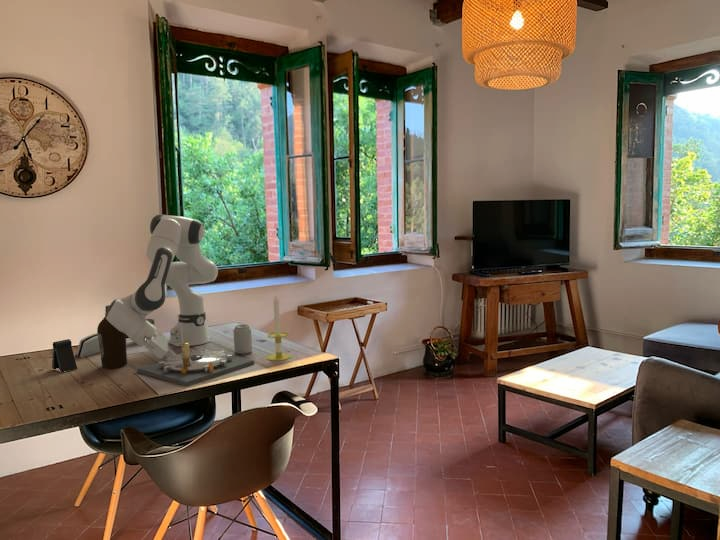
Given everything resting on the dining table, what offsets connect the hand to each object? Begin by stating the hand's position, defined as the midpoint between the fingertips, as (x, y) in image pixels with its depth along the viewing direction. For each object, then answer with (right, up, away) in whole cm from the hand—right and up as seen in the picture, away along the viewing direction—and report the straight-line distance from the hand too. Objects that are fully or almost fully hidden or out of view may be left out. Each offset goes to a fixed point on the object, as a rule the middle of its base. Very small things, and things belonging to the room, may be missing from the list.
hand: (175, 357), depth 206 cm
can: (+18, -4, +34) cm, 39 cm away
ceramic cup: (-37, -2, +61) cm, 71 cm away
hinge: (-50, -5, +43) cm, 66 cm away
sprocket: (+4, -5, +12) cm, 14 cm away
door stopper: (-50, -8, +16) cm, 54 cm away
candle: (+36, -4, +24) cm, 43 cm away
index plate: (+4, -6, +12) cm, 15 cm away
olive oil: (-32, -7, +20) cm, 38 cm away
